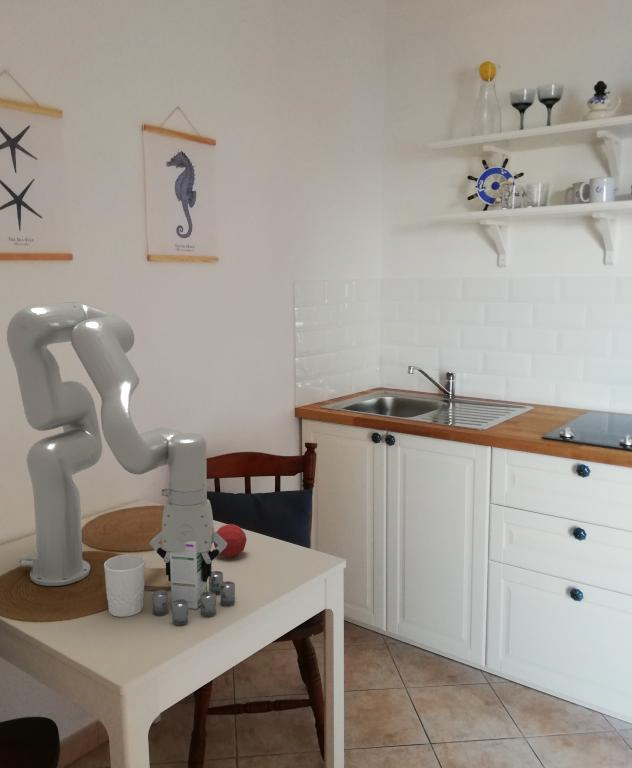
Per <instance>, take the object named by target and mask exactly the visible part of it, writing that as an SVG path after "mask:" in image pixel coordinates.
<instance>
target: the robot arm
mask: <svg viewBox="0 0 632 768" xmlns="http://www.w3.org/2000/svg"><path fill="white" fill-rule="evenodd" d="M6 342H7V347H8V351H9V353H10V355H11V356H10V357H11V358H12V361H13V363H14V364H13V365H14V367H15V371H16V375H17V381H18V386H19V392H20V397H21V402H22V406H23V411H24V415H25V418H26V421H27V424H28V425H29V426H30V427H31V428H32V429H33V430H36V431H39V432H46V431H50V430H54V429H58V428H62V429H63V432H59V433H56V434H53V435H49V436H47V437H44V438H42V439H39V440H37V441H36V442H35V443H33V445H32V446H31V447H30V448H29V450H28V453H27V455H26V465H27V469H28V473H29V476H30V482H31V486H32V487H31V488H32V494H33V496H32V497H33V508H34V510H33V511H34V527H35V545H36V553H34V554H28V553H27V554H25V553H21V554H20V556H19V563H20V567H21V568H28V567H29V568H30V567H31V570H30V573H29V578H30V580H31V581H32V582H33V583H34V584H37V585H39V586H45V587H58V586H65V585H71V584H74V583H76V581H77V582H79V581H81V580H83V579H85V578H86V577H88V575H90V573H91V565H90V563H89V562H88V561H86V560H85V559H83V537H82V535H83V534H82V512H81V511H82V510H81V496H80V492H79V488H78V487H77V485H76V483H75V482H74V479H73V475H75V474H78V473H80V472H82V471H85V470H87V469H90V468H92V467H93V466H95V465H96V464H97V463H98V462H99V461H100V460H101V457H102V454H103V440H102V436H101V435H102V434H103V437H104V439H105V442H106V444H107V445H108V448H109V449H110V451H111V452H112V454H113V456H114V457H115V459H116V461H117V463H118V464H119V465H120V466H121V468H123V469H124V470H125V471H126V472H128V473H130V474H132V475H138V476H139V475H144V474H147V473H149V472H151V471H153V470H155V469H157V468H160V467H163V466H166V465H167V466H168V469H167V472H168V487H167V488H162V489H161V496H162V497H164V496H165V497H166V498H167V500H166V501H165V502H164V505H163V513H162V519H161V520H162V521H161V531H160V532H159V533H158V534H157V535H155V536H154V537H153V538H152V539H150V542H149V546H150V547H151V548H152V549H153V551H156V554H157V555H158V556H160V558H161V559H163V562H164V563H165V568H166V575H168V581H171V571H170V552H185V547H186V544H185V543H187V542H188V541H195V542H196V550H197V553H201V554H202V556H203V558H204V563H203V581H204V582H207V583H208V581H209V577H211V573H212V572H213V571H212V570H213V569H212V568H213V567H212V562H213V561H214V559H216V558H217V557H218V556H220V554H219V553H220V552H222V551H223V550H224V549H225V548H226V546H227V542H226V541H225V540H224V539H223V538H222V537H221V536H219V535H218V534H217V533H216V532H217V531H215V528H214V526H215V525H214V517H213V509H212V505H211V501H210V500H209V498H207V497H208V496H207V495H208V493H207V490H208V489H207V488H208V487H207V486H208V485H207V482H208V481H207V473H208V472H207V469H208V468H207V441H206V438H205V437H204V436H203V435H202V434H201V435H200V434H198V433H191V432H190V433H187V432H186V433H185V432H184V433H183V432H180V431H177V430H173V429H171V428H167V427H158V428H153V429H151V430H148V431H145V432H142V433H139V432H138V429H137V428H136V426H135V424H134V421H133V420H132V417H131V414H130V413H131V412H130V402H131V399H132V398H131V397H132V395H133V393H134V391H135V390H136V389H137V388H138V386H139V385H140V377H139V375H138V373H137V372H136V370H135V369H134V366H133V365H132V363H131V361H130V360H129V358H128V356H127V353H128V352H130V351H131V350H132V348H133V347H134V344H135V333H134V330H133V328H132V326H131V324H129V322H128V321H126V320H125V319H124V318H122V317H120V316H118V315H116V314H114V313H110V312H107V311H104V310H101V309H99V308H97V307H93V306H90V305H87V304H84V303H82V302H81V303H80V302H75V301H73V302H55V303H54V302H53V303H52V302H49V303H39V304H33V305H30V306H26V307H23V308H22V309H20V310H18V311H17V312H16V313H15V314H14V315H13V316H12V317H11V318H10V321H9V322H8V326H7V328H6ZM68 342H70V345H72V348H73V350H74V352H75V354H76V356H77V357H78V359H79V361H80V363H81V364H82V366H83V368H84V370H85V371H86V373H87V375H88V377H89V378H90V380H91V382H92V383H93V386H94V388H95V389H96V390H97V393H98V394H99V396H100V400H101V406H100V421H101V430H102V434H101V430H100V426H99V425H100V424H99V420H98V414H97V409H96V404H95V401H94V398H93V395H92V393H91V392H90V390H89V389H88V388H87V387H86V386H85V385H84V384H83V383H81V382H79V381H74V380H68V381H63V380H62V377H61V373H60V371H61V370H60V367H59V363H58V362H57V359H56V358H55V357H56V356H54V355H53V353H52V352H51V351H50V350H49V348H47V347H48V346H49V345H51V344H52V345H53V344H62V343H68ZM186 540H187V541H186ZM183 542H185V543H183ZM213 542H215V543H216V544H217V545H218V546H217V547H216V548H215V547H214V548H213V549H212V547H213V545H214V543H213ZM211 549H212V550H211ZM89 572H90V573H89Z"/></svg>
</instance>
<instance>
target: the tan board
mask: <svg viewBox="0 0 632 768" xmlns="http://www.w3.org/2000/svg"><path fill="white" fill-rule="evenodd" d="M158 590H165V591H167V592H171V581H168V575H166V567H165V568H163V567H160V568H159V567H145V582H144V591H153V592H155V591H158Z"/></svg>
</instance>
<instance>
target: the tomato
mask: <svg viewBox="0 0 632 768" xmlns="http://www.w3.org/2000/svg"><path fill="white" fill-rule="evenodd" d="M215 532H216V533H217V534H218V535H219V536H221V537H222V538H223V539H224V540H225V541H226V542H227V546H226V548H225V549H224V550H223V551H222V552H220V553H219V556H222V557H225V558H235V557H236V556H240V555H241V554H242V552H243V551H244V550H245V547H246V543H247V535H246V533H245V531H244V530H243V529H242V527H240V526H239V525H236V524H225V525H222V526H220V527H219V528H218V529H217V531H215ZM213 546H214V549H215V548H216V547H217V546H218V545H217V544H216V543H215V542H213Z"/></svg>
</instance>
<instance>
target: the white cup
mask: <svg viewBox="0 0 632 768" xmlns="http://www.w3.org/2000/svg"><path fill="white" fill-rule="evenodd" d="M145 566H146V559H145V558H144V557H143V556H140V555H137V554H121V555H115V556H113V557H110V558H108V559H107V560H105V562H104V563H103V567H104V580H105V592H106V599H107V605H108V613H109V614H111V615H112V616H114V617H119V618H123V617H126V618H127V617H132V616H135V615H137V614H138V613H141V612H142V610H143V608H144V595H145V590H144V582H145V568H146V567H145Z"/></svg>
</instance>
